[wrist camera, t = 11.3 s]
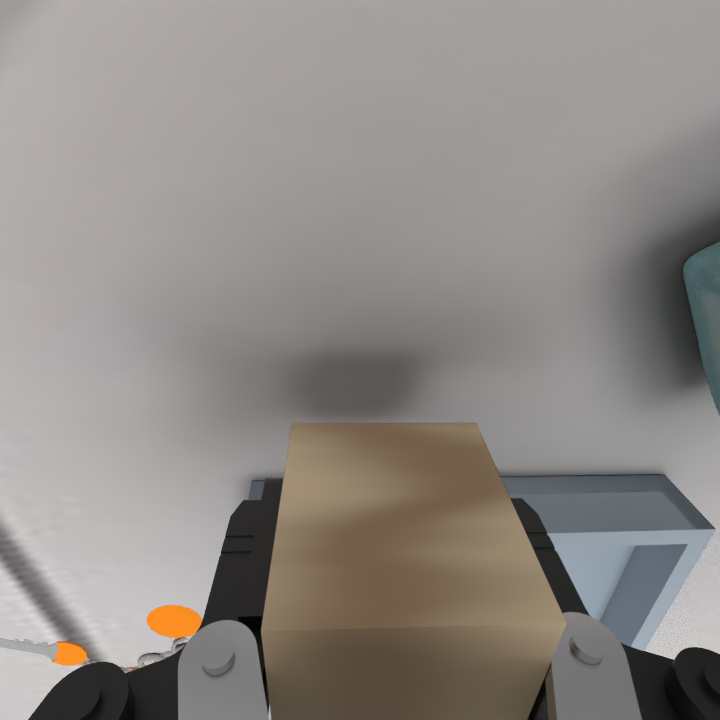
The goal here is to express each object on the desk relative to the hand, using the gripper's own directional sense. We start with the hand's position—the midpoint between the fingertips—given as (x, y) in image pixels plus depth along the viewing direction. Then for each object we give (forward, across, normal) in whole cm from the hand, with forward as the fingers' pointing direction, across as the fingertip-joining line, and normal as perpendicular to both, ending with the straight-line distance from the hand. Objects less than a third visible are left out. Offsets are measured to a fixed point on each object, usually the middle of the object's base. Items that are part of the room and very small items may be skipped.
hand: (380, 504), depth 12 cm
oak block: (0, 0, 0) cm, 0 cm away
